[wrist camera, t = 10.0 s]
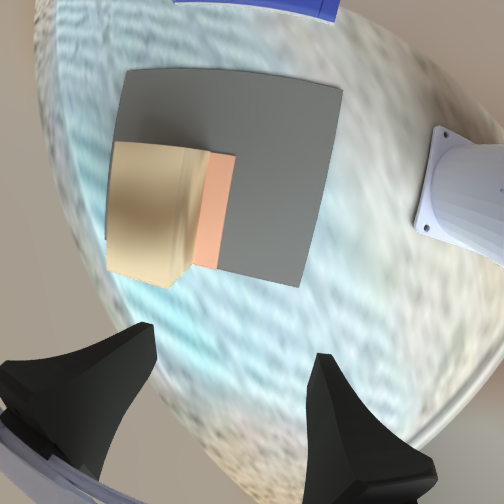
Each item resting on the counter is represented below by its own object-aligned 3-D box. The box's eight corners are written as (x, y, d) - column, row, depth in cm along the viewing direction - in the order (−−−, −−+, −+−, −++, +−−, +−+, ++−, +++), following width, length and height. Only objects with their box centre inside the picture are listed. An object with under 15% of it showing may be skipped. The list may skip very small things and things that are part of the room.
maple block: (193, 263, 20) (167, 289, 16) (140, 249, 20) (106, 269, 16) (210, 151, 17) (184, 147, 13) (151, 144, 18) (115, 141, 13)
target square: (236, 156, 17) (235, 156, 17) (216, 268, 20) (216, 269, 20) (132, 143, 18) (131, 143, 18) (123, 245, 20) (122, 245, 20)
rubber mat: (342, 91, 15) (343, 90, 15) (298, 285, 20) (298, 287, 19) (129, 72, 17) (127, 70, 16) (107, 238, 21) (104, 239, 21)
